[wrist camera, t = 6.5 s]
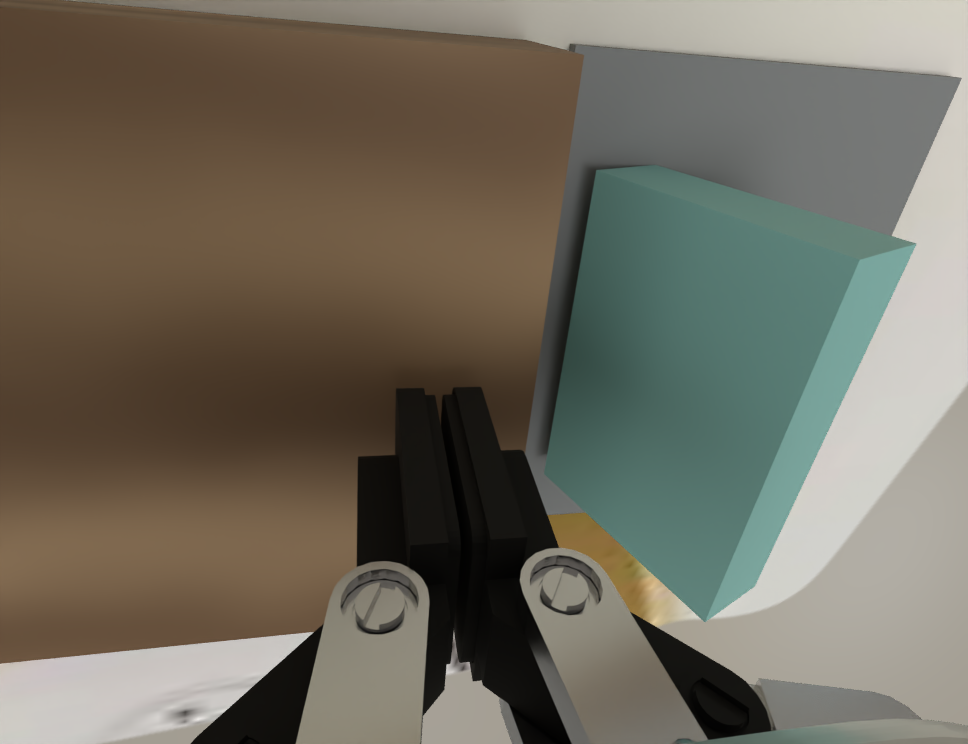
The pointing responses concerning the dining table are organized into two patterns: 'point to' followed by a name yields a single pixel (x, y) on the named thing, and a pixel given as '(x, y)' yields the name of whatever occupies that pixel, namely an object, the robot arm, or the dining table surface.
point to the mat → (732, 158)
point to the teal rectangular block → (708, 368)
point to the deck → (246, 299)
